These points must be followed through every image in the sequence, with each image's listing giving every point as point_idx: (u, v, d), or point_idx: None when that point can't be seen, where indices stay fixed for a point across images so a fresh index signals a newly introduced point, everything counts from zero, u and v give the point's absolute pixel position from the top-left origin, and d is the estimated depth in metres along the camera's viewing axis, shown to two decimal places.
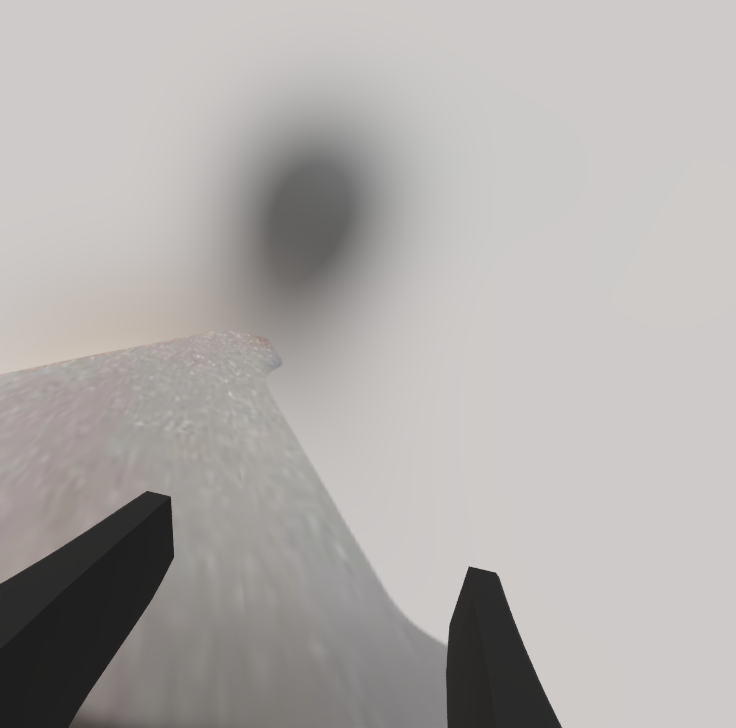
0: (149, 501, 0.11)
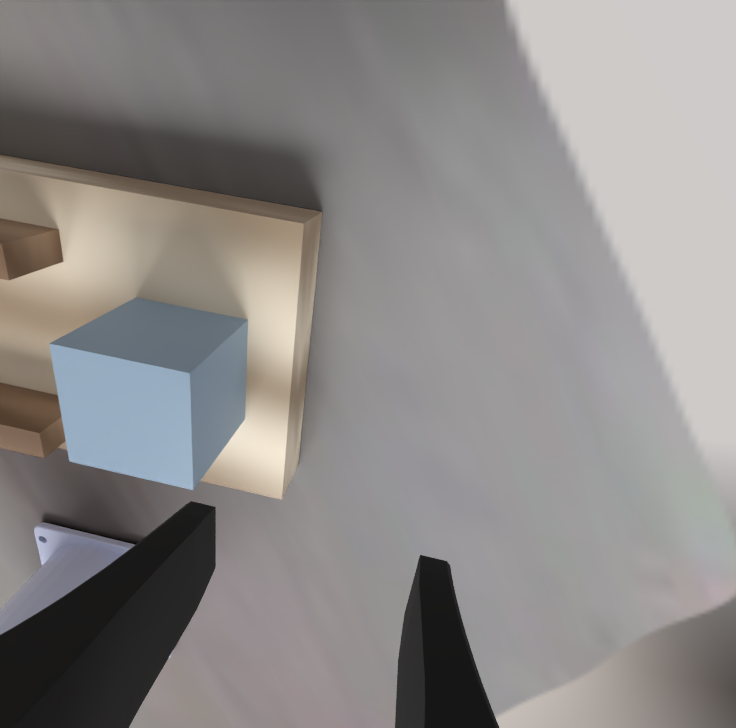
0: (196, 512, 0.11)
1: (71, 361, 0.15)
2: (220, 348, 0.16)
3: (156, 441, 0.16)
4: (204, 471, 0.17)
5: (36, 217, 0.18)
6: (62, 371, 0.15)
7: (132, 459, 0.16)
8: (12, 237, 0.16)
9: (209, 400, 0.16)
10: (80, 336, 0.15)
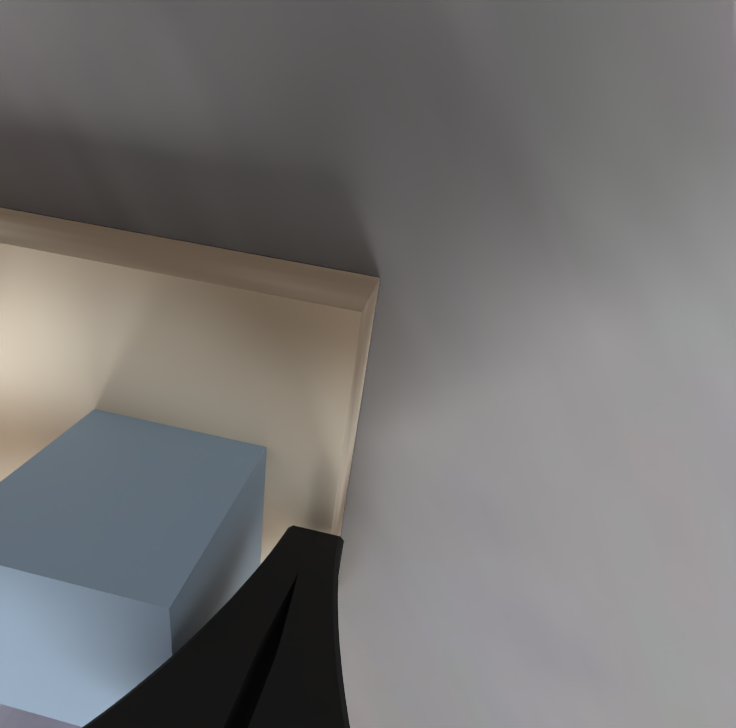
0: (301, 536, 0.11)
1: None
2: (224, 521, 0.10)
3: (115, 689, 0.09)
4: None
5: None
6: None
7: (78, 706, 0.10)
8: None
9: (205, 609, 0.10)
10: None
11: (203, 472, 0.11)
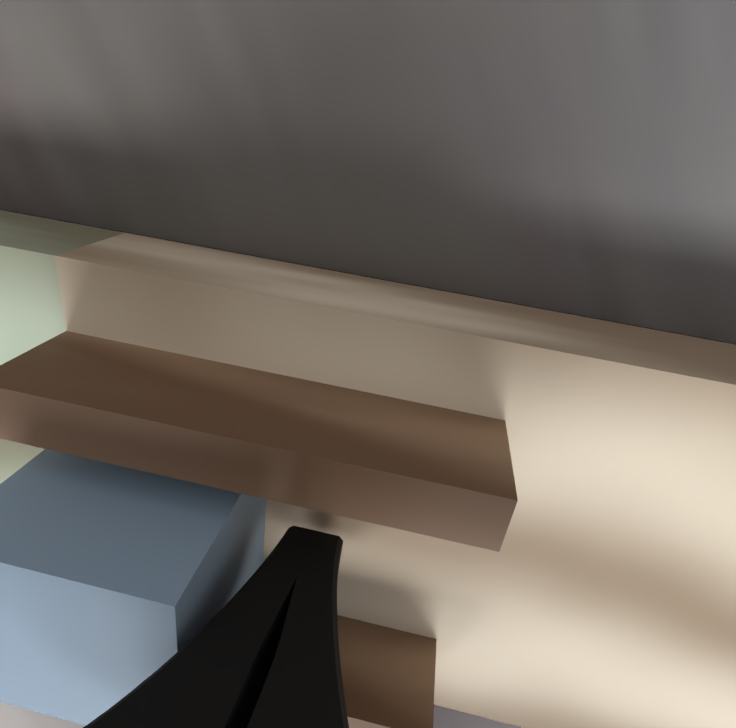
0: (301, 537, 0.11)
1: None
2: (228, 519, 0.10)
3: (120, 688, 0.09)
4: None
5: (468, 400, 0.10)
6: None
7: (82, 704, 0.10)
8: (493, 466, 0.09)
9: (209, 608, 0.10)
10: None
11: None
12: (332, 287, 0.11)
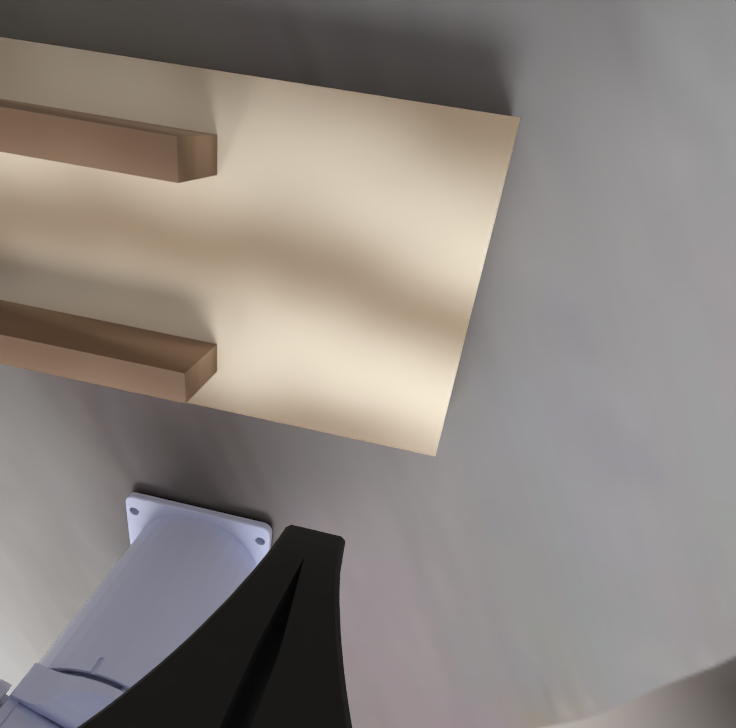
0: (299, 536, 0.11)
1: None
2: None
3: None
4: None
5: (191, 120, 0.15)
6: None
7: None
8: (179, 134, 0.14)
9: None
10: None
11: None
12: None
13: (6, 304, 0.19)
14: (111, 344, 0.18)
